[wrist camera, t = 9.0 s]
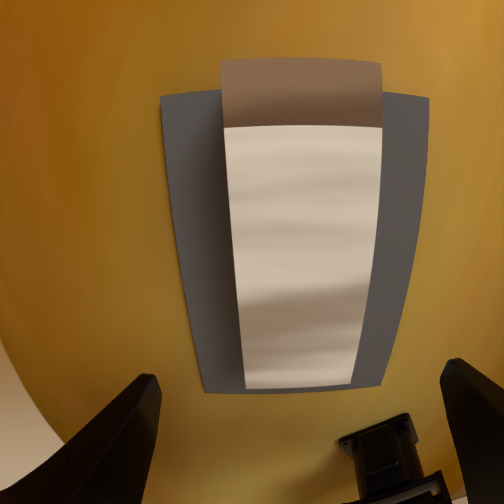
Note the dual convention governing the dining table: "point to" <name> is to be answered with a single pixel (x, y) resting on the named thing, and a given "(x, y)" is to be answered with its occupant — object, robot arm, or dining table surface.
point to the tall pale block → (302, 212)
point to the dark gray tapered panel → (221, 247)
